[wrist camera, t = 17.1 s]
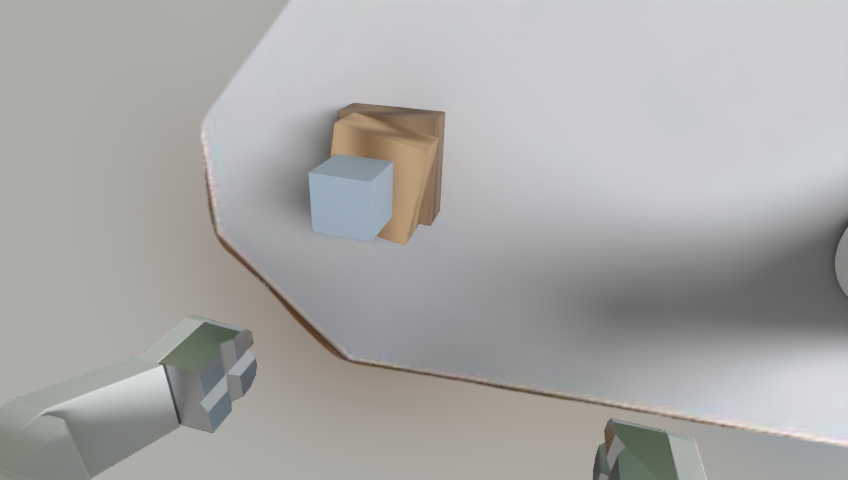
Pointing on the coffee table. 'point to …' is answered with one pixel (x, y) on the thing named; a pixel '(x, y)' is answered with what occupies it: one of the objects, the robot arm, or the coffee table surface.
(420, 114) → the walnut block
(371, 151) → the teak block
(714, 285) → the coffee table surface
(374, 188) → the slate cube
